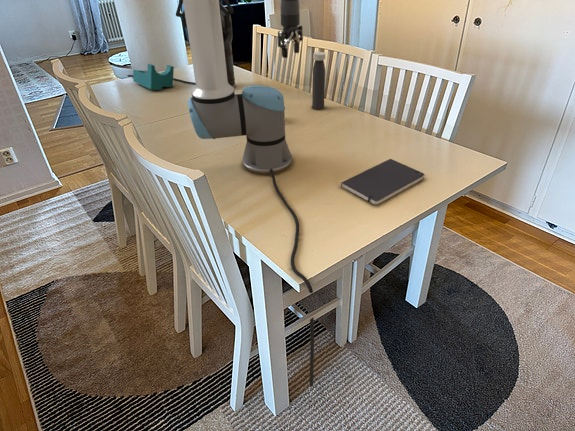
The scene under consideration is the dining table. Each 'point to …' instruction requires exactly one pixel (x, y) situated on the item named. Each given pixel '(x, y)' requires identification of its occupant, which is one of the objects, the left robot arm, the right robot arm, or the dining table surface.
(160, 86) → the teal notched cradle block
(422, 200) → the dining table surface
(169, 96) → the dining table surface
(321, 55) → the cap
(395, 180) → the notebook
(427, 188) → the dining table surface
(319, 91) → the bottle
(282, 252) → the dining table surface
